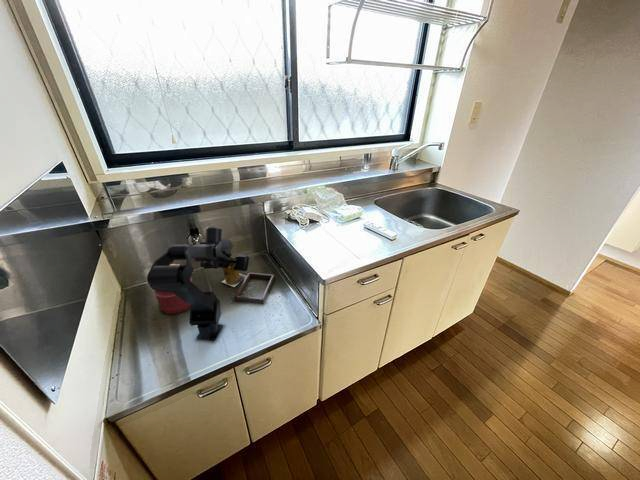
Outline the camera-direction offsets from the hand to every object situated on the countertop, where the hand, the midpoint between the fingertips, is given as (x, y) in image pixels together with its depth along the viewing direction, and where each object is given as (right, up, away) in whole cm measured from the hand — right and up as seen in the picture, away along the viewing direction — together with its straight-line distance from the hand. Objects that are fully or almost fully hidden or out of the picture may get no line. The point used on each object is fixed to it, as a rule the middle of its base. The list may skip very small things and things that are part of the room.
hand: (233, 264), depth 111 cm
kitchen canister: (-18, -14, -10) cm, 25 cm away
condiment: (0, -7, +2) cm, 7 cm away
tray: (+11, -10, -3) cm, 15 cm away
